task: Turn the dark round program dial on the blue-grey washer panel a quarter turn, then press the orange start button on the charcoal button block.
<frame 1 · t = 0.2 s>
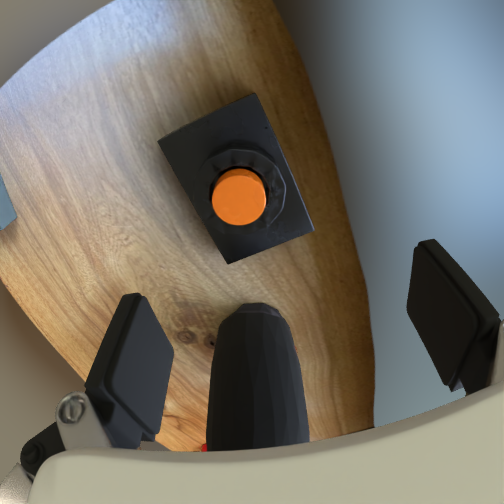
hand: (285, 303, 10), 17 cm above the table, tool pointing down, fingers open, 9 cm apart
button block: (240, 177, 25), on the table
portable speaker: (253, 326, 34), on the table
start button: (239, 196, 21), point 4 cm above the table, slide at 0.1 cm
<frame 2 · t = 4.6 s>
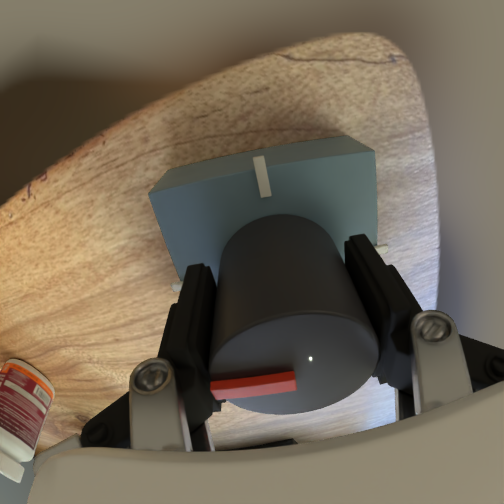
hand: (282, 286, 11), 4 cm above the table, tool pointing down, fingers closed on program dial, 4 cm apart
program dial: (287, 315, 9), point 6 cm above the table, hinge at 0.0°, touching gripper
washer panel: (273, 231, 14), on the table
pill bottle: (32, 375, 22), on the table
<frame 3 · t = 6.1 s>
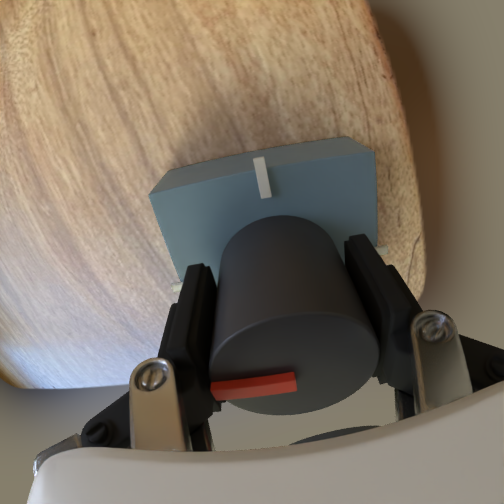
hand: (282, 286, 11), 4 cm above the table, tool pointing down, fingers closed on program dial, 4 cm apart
program dial: (287, 316, 9), point 6 cm above the table, hinge at 90.1°, touching gripper
washer panel: (273, 232, 14), on the table
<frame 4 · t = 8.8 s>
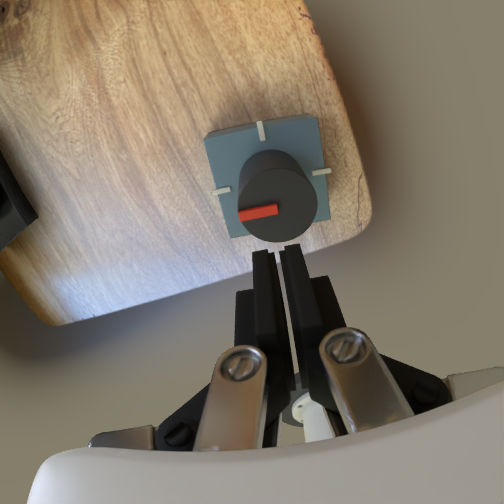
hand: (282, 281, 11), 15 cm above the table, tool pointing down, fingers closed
program dial: (274, 193, 19), point 6 cm above the table, hinge at 90.7°
washer panel: (268, 169, 24), on the table
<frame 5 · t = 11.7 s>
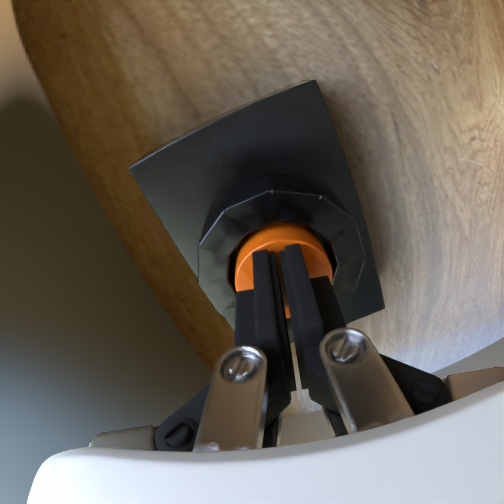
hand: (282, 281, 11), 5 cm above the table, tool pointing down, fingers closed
button block: (274, 226, 15), on the table
start button: (282, 269, 12), point 4 cm above the table, slide at -0.6 cm, touching gripper
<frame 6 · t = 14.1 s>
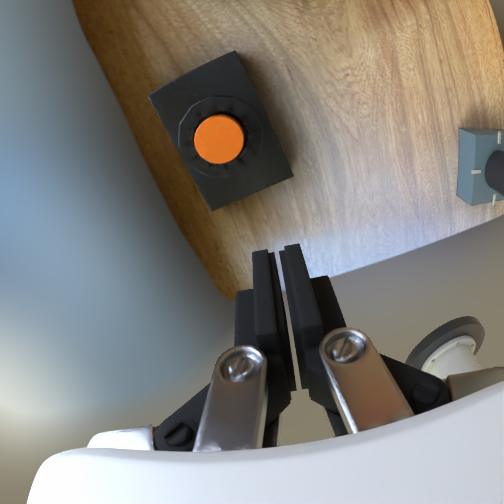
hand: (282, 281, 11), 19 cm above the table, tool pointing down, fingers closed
button block: (223, 129, 25), on the table
washer panel: (481, 161, 26), on the table
start button: (219, 138, 22), point 4 cm above the table, slide at 0.1 cm
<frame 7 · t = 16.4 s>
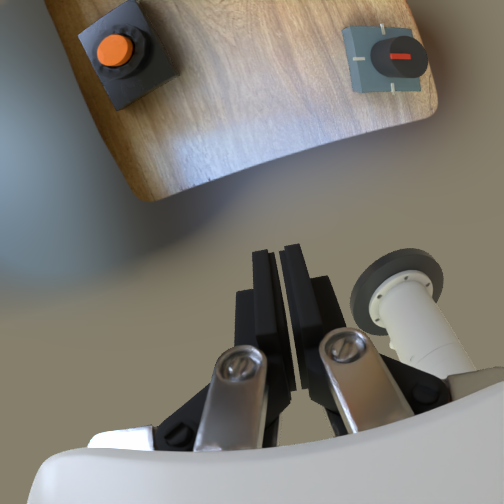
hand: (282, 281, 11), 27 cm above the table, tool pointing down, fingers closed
program dial: (398, 57, 23), point 6 cm above the table, hinge at 90.7°
button block: (129, 53, 28), on the table
washer panel: (377, 59, 28), on the table
start button: (115, 50, 24), point 4 cm above the table, slide at 0.1 cm
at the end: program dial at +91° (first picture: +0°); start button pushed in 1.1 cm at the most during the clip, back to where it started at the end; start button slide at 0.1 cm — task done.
